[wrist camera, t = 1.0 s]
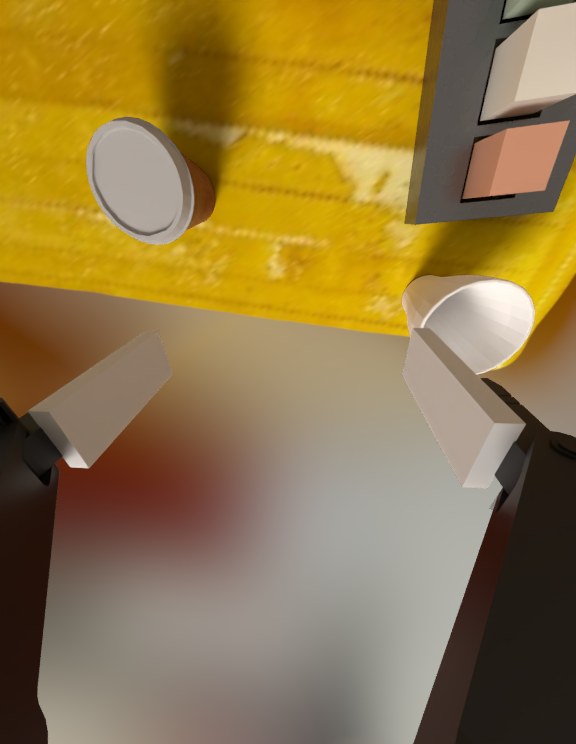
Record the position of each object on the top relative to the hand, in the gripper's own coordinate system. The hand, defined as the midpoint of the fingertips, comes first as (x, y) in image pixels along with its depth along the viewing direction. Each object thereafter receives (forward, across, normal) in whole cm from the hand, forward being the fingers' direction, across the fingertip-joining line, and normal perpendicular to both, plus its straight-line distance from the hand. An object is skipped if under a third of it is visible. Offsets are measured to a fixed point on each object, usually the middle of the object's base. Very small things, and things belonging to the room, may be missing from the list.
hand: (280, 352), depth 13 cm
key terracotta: (+23, +20, +9) cm, 32 cm away
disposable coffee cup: (+27, -14, +9) cm, 32 cm away
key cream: (+23, +20, +15) cm, 34 cm away
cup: (+27, +17, -5) cm, 32 cm away
